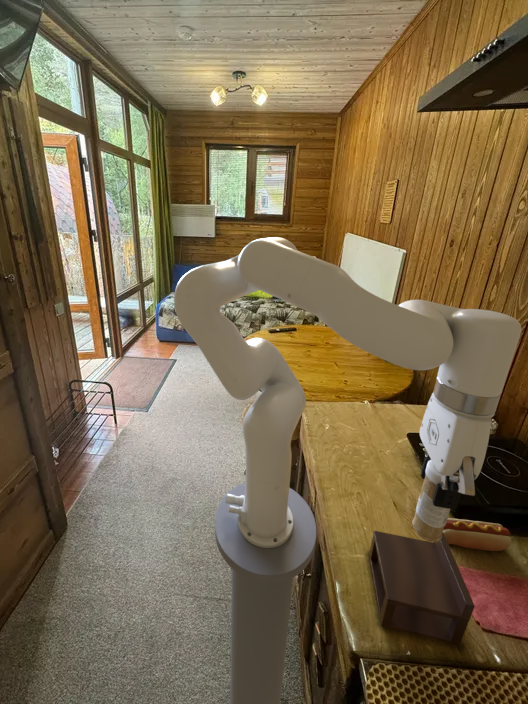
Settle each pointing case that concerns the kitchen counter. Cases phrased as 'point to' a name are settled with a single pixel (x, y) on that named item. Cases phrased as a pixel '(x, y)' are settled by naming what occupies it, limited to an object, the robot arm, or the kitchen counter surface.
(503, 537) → the food
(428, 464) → the sprinkles bottle
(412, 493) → the kitchen counter surface
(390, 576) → the spice rack
